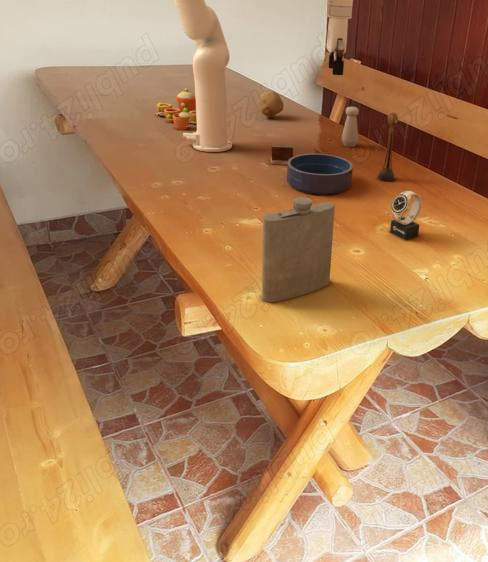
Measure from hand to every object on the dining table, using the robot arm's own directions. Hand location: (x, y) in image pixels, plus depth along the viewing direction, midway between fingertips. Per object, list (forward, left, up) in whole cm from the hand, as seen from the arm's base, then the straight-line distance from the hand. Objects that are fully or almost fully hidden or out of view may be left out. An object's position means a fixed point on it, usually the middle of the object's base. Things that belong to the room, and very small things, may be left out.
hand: (335, 71), depth 198 cm
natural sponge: (-18, +42, -27) cm, 53 cm away
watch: (+12, -62, -27) cm, 68 cm away
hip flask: (-16, -90, -27) cm, 95 cm away
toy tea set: (-50, +34, -27) cm, 66 cm away
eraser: (-16, -10, -26) cm, 33 cm away
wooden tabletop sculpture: (+15, -23, -27) cm, 38 cm away
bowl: (-6, -28, -26) cm, 39 cm away
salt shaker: (+8, +10, -27) cm, 29 cm away
